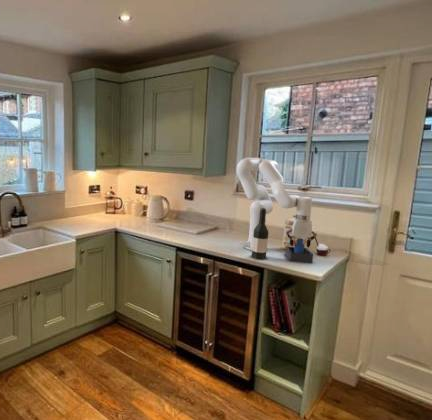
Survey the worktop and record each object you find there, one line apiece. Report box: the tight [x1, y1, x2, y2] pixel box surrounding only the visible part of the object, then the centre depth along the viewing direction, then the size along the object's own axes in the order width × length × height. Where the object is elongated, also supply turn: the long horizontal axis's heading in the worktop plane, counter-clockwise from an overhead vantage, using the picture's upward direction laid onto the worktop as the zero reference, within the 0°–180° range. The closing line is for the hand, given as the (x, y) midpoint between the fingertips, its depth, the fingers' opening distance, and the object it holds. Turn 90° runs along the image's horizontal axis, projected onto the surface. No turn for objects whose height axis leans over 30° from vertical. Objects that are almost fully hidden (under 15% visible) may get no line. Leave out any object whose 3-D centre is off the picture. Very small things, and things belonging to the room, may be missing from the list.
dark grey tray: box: [284, 247, 314, 264], centre depth 214 cm, size 12×14×5 cm
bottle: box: [294, 238, 305, 253], centre depth 214 cm, size 5×5×12 cm
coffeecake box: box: [281, 218, 308, 250], centre depth 234 cm, size 15×7×20 cm, turn 115°
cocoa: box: [314, 236, 331, 256], centre depth 222 cm, size 10×6×12 cm, turn 53°
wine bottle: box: [251, 208, 269, 261], centre depth 213 cm, size 8×8×30 cm
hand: (299, 246), depth 213 cm, fingers open, 8 cm apart
